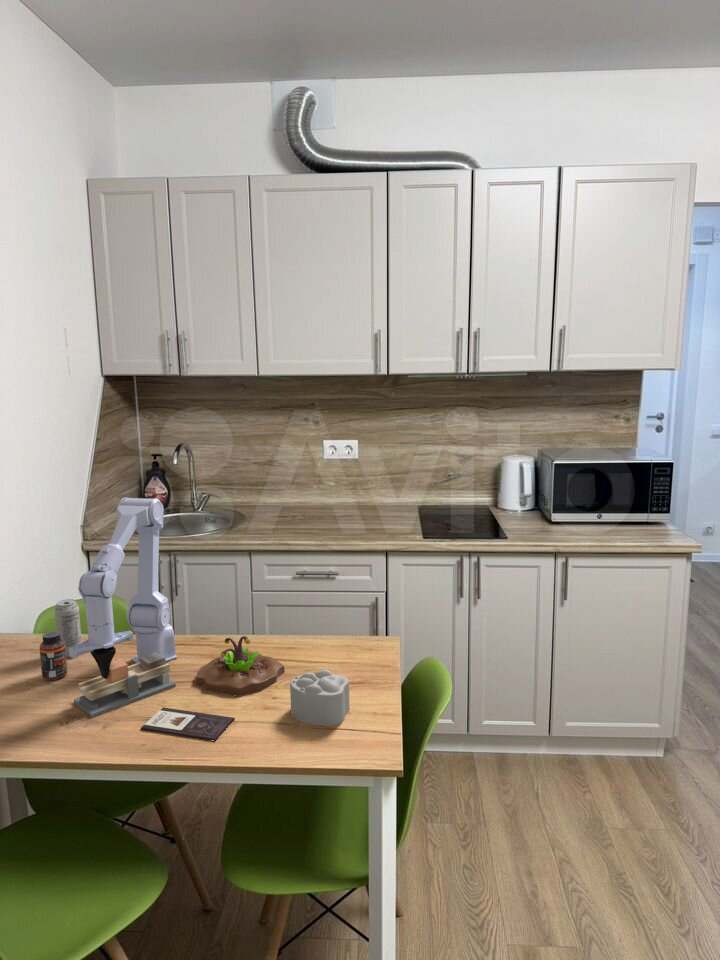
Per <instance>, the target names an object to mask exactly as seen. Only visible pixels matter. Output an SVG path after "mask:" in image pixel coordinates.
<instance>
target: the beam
mask: <svg viewBox="0 0 720 960" xmlns="http://www.w3.org/2000/svg"><path fill="white" fill-rule="evenodd" d="M170 666H171V665H170V663H167V661H166V660H165V657H163V656H161V655H160V654H158V653H156V652H155V653H152V654H149V655H147V656H144V657H141V658H140V662H139V663H136V662H135V663H134V664H131V665H128V675H129V676H132V675H135V674H136V675H137V678H138V688H141V682H144V681H147V680H149V679H152V678H155V677H158V676H160V675H163V674H166V673H171V667H170ZM77 686H78V692H79V693H80V694H81V695H82V696H83V695H84V696H85V697H87V698H88V699H89V700H90V701H92V700H95V699H97V698H100V697H103V696H106V695H108V694H111V693H114V692H117V691H120V692H121V693H123V694H124V693H127V692H126V688H127V683H126V678H125V679H122V680H120V681H117V682H114V683H111V684H110V683H109V682H108V681H107V680H106V679H104V678H103V677H102V676H101V675H98V676H96V677H94V678H91V679H88V680H85V681H82V682H79V683H78V685H77Z"/></svg>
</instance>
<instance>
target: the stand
mask: <svg viewBox="0 0 720 960" xmlns="http://www.w3.org/2000/svg"><path fill="white" fill-rule="evenodd" d="M169 674H170V672H168V673H166V674H163V675H160V676H158V677H155V678H152V679H149V680H147V681H144V682H141V688H138V678H137V675H136V674H135V675H132V676H129V677H126V683H127V688H126V692H127V693H124V694H123V693H121V692H120V691H117V692H114V693H111V694H108V695H106V696H103V697H100V698H97V699H95V700H92V701H90V700H89V699H88V698H87V697H85V696H84V695H83V694H82V695H81V696H78V697H76V698H74V699H73V703H74V704H75V705H77V707H79V708H80V709H81V710H82V711H83V712H85V713H86V714H87V715H88V716H89V717H90V718H91V719H92V718H95V717H97V716H100V715H103V714H106V713H109V712H111V711H114V710H116V709H119V708H121V707H125V706H127V705H130V704H133V703H135V702H138V701H141V700H143V699H146V698H149V697H151V696H155V695H156V694H159V693H162V692H165V691H167V690H171V689H173V688H175V687H177V686H176V685H177V684H176V683H175V682H174V681H173V680H171V679H170V675H169Z"/></svg>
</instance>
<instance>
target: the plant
mask: <svg viewBox="0 0 720 960" xmlns="http://www.w3.org/2000/svg"><path fill="white" fill-rule="evenodd" d="M230 642H231V643H232V645H233V648H231V647H230V648H226V649H225V650H222V651H221V652H220V655H219V656H218V657H216V658H213V659H212V660H211V661H209V662H208V663H206V664H205V665H203V666H201V667H200V669H198V671H197V673H196V674H197V675H196V678H195V680H196V681H195V682H196V685H197V686H202V687H204V688H205V689H206V691H207V692H210V693H211V692H212V693H216V692H217V694H222V693H223V694H225V695H228V694H230V695H229V696H233V695H236V696H235V697H242V696H245V694H246V695H248V694H252V693H257V692H260V691H263V690H265V689H267V688H269V687H270V686H272V685H274V684H275V683H277V681H278V679H279V677H280V676H282V675H283V674H284V673H286V672H285V665H284V664H283V663H281V662H280V661H278V660H276V659H275V658H273V657H272V656H268V655H263V654H262V653H261V652H260V650H258V651H257V650H256V651H254V652H253V651H250V649H249V648H248V647H246V648H245V647H243V646H242V645H243V642H244V643H245V644H246V645H250V643H251V639H250V637H248V636H246V635H242V636H240V638H239V640H238V642H237V643H238V644H237V643H236V641H235V640H234V639H233V638H231V637H226V638H225V639H224V644H226V645H228V644H229V643H230ZM223 694H222V695H223Z"/></svg>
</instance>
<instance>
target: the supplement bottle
mask: <svg viewBox="0 0 720 960" xmlns="http://www.w3.org/2000/svg"><path fill="white" fill-rule="evenodd" d="M39 656H40V669H41V677H42V679H43V680H46V681H56V680H60V679H63V678H65V677H66V676H67V674H68V665H67V664H68V663H67V659H66V651H65V643H64V641H63V640H61V639H60V633H59V632H57V631H48V632H46V633H44V634H43V635H42V642H41V643H40V644H39Z"/></svg>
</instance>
